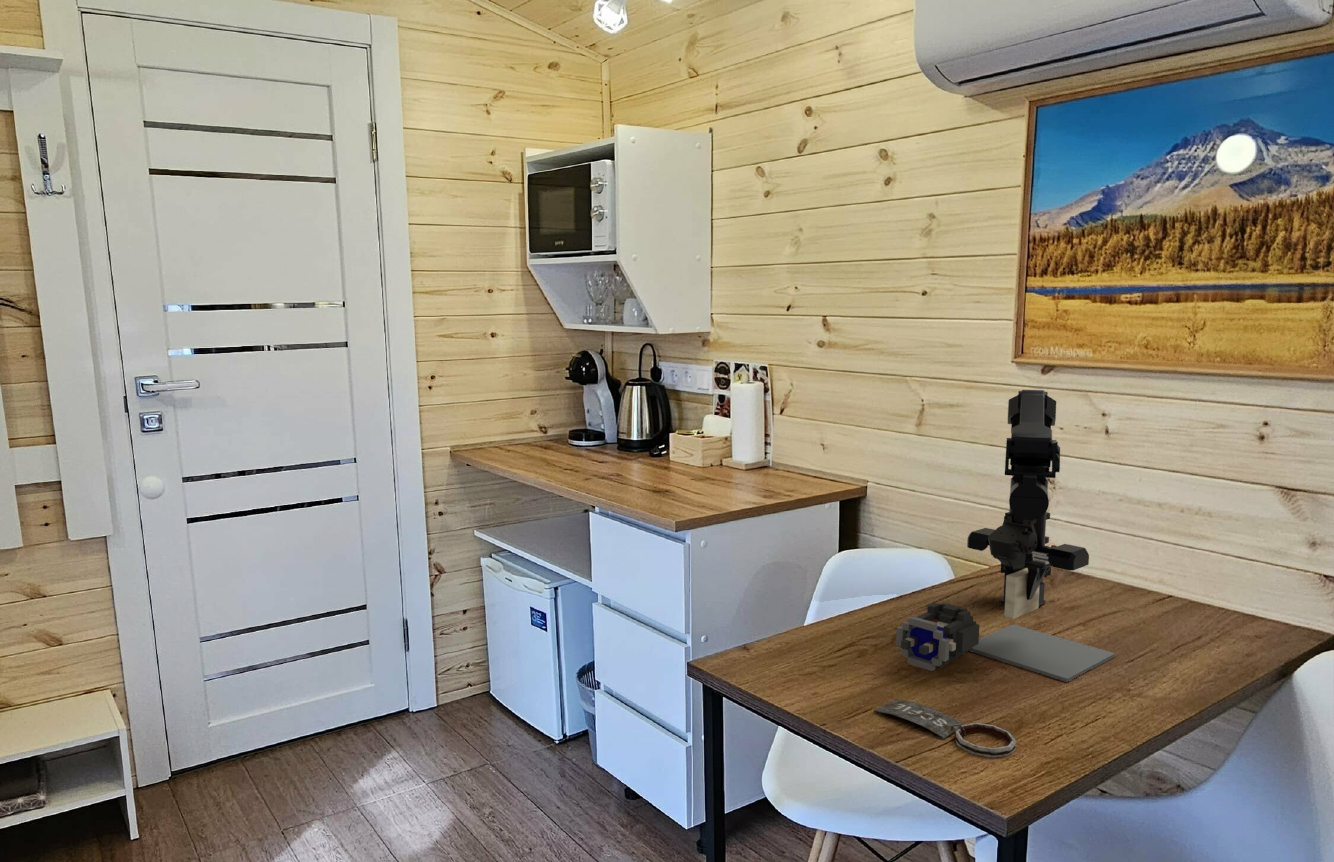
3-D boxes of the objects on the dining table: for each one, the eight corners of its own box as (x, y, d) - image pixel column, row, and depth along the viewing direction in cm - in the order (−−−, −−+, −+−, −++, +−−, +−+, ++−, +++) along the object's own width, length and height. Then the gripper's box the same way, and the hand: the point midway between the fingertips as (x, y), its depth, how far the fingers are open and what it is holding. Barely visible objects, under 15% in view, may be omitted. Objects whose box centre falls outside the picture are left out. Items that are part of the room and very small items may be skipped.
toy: (889, 617, 140) (938, 596, 150) (888, 669, 141) (936, 645, 151) (939, 631, 133) (986, 608, 144) (937, 685, 135) (984, 659, 145)
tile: (1028, 605, 152) (1030, 566, 151) (1038, 608, 150) (1040, 568, 149) (1003, 616, 147) (1005, 575, 146) (1013, 618, 145) (1015, 577, 144)
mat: (962, 648, 149) (962, 645, 149) (1012, 627, 159) (1013, 624, 159) (1067, 682, 135) (1067, 678, 135) (1114, 656, 145) (1115, 653, 145)
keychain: (901, 701, 130) (901, 688, 130) (1027, 747, 116) (1027, 733, 116) (870, 717, 125) (870, 704, 125) (997, 768, 111) (998, 753, 111)
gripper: (950, 504, 149) (947, 594, 151) (1058, 524, 134) (1053, 623, 136) (986, 495, 155) (983, 581, 158) (1093, 513, 141) (1087, 608, 143)
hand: (1023, 597), depth 148 cm, fingers closed on tile, 2 cm apart
